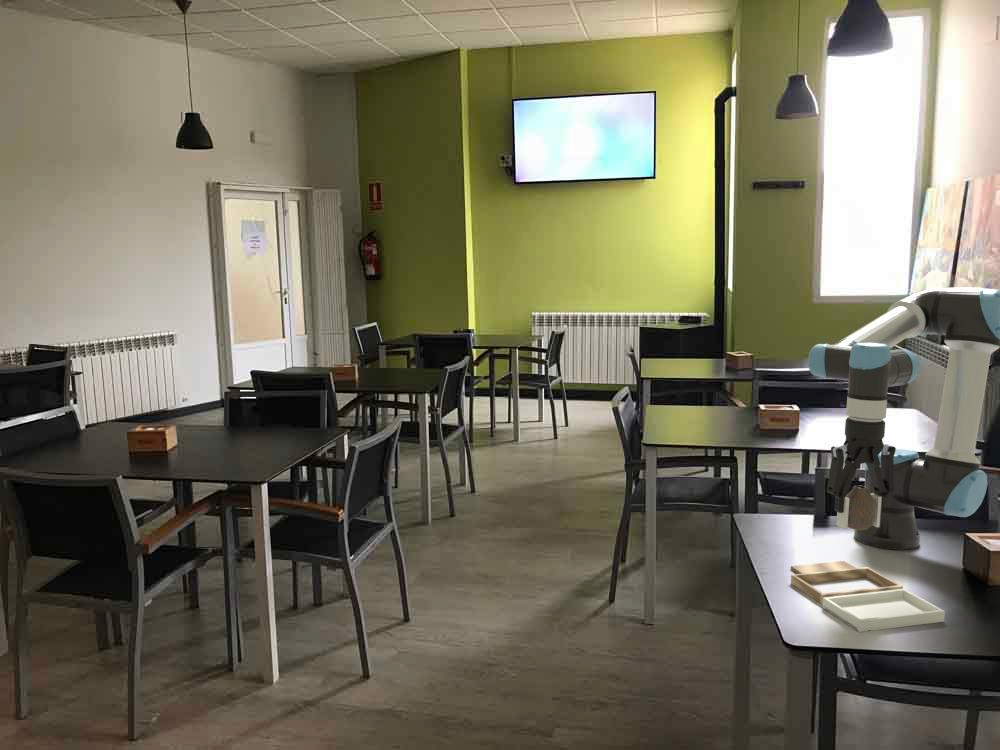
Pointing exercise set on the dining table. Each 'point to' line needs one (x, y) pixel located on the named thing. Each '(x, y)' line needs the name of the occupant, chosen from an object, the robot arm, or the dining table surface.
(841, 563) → the lid
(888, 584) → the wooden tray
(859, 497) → the vase
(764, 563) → the dining table surface
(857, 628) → the off-white tray
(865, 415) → the robot arm
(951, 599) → the dining table surface
